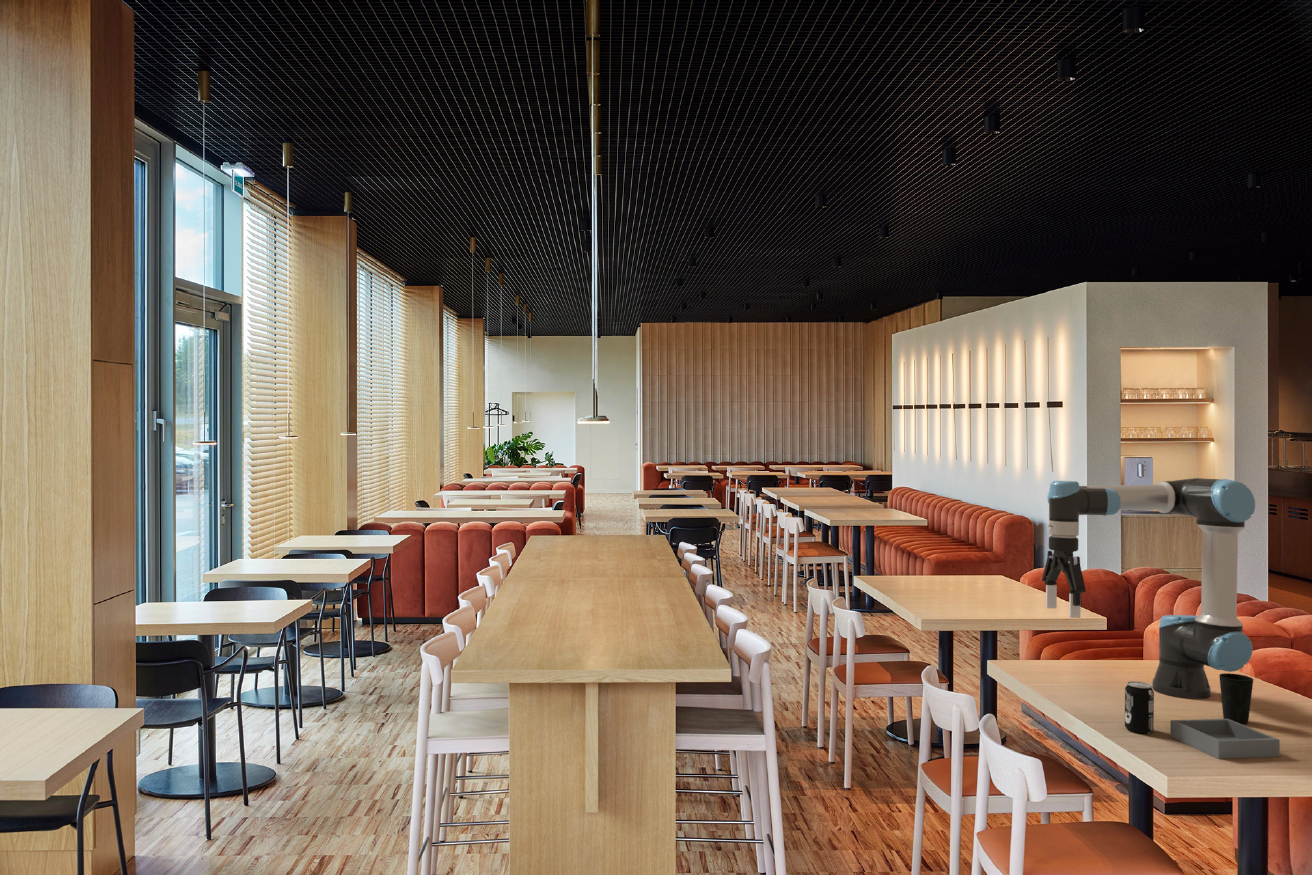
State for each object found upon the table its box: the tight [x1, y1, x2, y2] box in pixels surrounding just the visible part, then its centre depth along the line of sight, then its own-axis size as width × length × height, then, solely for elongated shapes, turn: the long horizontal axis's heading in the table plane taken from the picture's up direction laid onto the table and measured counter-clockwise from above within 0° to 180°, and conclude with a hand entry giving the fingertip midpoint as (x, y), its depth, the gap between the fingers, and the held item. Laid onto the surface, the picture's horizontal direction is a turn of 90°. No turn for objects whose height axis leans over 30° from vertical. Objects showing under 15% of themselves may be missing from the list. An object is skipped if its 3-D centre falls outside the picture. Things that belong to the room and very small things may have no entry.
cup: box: [1218, 672, 1254, 726], centre depth 237 cm, size 8×8×12 cm
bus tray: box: [1170, 718, 1280, 760], centre depth 216 cm, size 16×16×4 cm
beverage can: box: [1124, 680, 1155, 735], centre depth 228 cm, size 7×7×12 cm
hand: (1062, 612), depth 244 cm, fingers open, 13 cm apart
